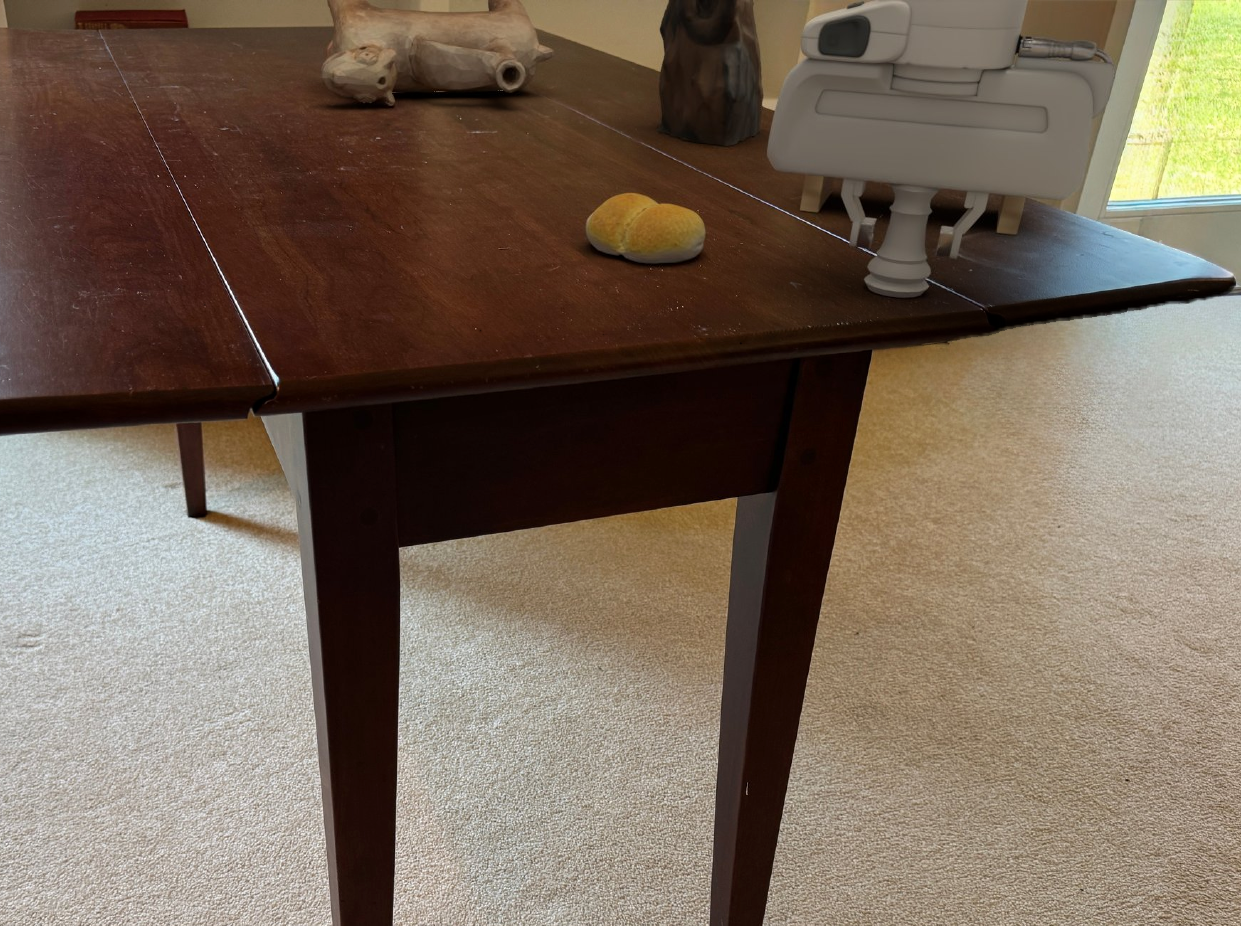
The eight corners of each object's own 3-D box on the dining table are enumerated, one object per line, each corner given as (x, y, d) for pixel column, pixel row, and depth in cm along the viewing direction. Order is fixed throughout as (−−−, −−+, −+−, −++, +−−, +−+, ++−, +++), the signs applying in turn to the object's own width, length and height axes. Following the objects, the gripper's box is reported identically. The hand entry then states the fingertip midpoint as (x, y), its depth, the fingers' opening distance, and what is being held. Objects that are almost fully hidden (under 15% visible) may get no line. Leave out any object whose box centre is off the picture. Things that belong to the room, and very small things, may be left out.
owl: (731, 149, 123) (755, -63, 113) (624, 136, 128) (637, -69, 118) (765, 131, 133) (790, -65, 123) (664, 120, 138) (680, -70, 127)
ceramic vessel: (305, -39, 147) (328, 7, 128) (534, -13, 156) (587, 33, 137) (303, 67, 155) (324, 124, 136) (521, 86, 164) (569, 142, 145)
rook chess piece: (937, 289, 81) (963, 172, 77) (912, 303, 78) (937, 182, 74) (878, 276, 83) (900, 162, 79) (851, 289, 80) (872, 171, 76)
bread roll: (667, 273, 83) (672, 217, 80) (569, 249, 87) (571, 195, 85) (726, 250, 88) (732, 197, 86) (630, 229, 93) (634, 178, 91)
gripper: (1121, 38, 72) (1061, 258, 79) (794, 17, 77) (767, 224, 85) (1128, 48, 66) (1064, 282, 74) (778, 25, 72) (750, 244, 80)
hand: (902, 251), depth 79 cm, fingers open, 4 cm apart
